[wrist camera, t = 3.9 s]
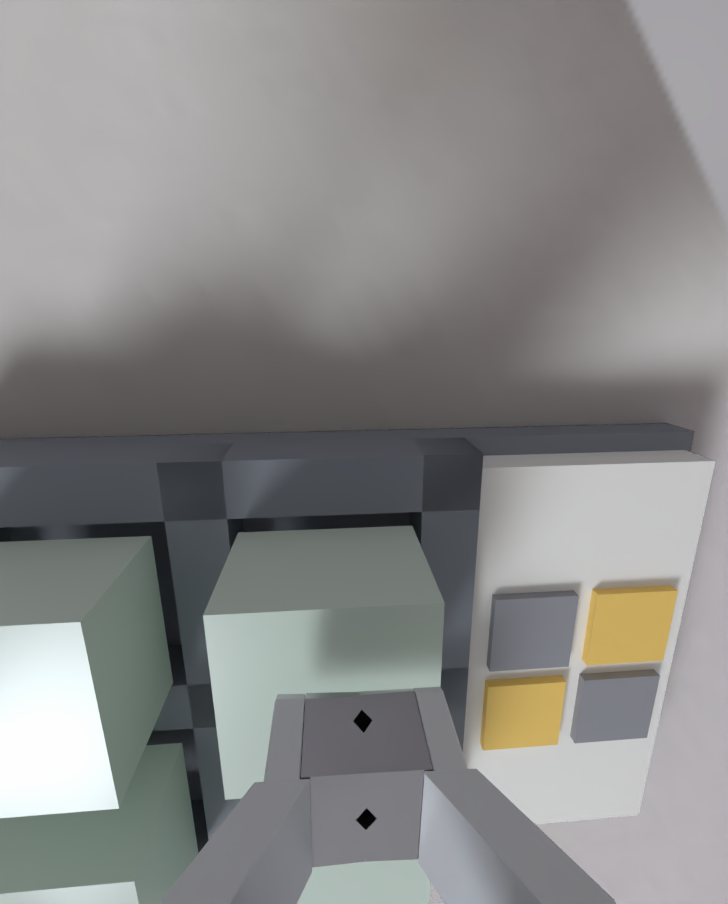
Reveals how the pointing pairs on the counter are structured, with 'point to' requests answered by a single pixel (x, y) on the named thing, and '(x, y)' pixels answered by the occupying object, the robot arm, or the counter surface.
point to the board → (451, 562)
